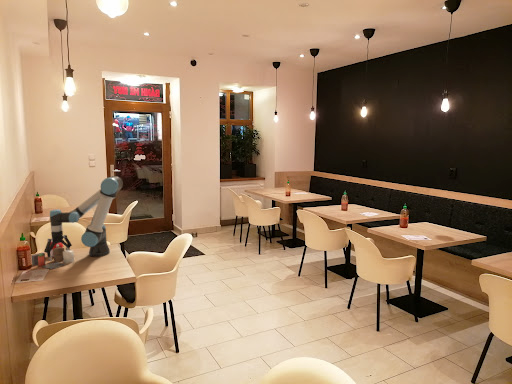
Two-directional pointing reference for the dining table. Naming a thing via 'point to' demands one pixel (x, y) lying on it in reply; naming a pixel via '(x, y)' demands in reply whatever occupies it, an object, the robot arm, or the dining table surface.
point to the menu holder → (36, 258)
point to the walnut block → (58, 254)
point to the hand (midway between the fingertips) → (59, 258)
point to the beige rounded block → (68, 256)
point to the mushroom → (56, 246)
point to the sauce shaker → (41, 260)
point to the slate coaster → (53, 265)
